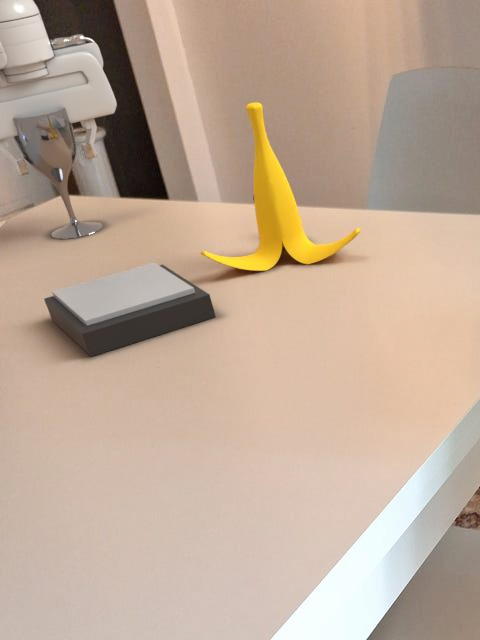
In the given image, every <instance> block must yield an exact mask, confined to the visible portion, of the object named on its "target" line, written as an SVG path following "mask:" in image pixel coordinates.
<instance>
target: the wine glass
mask: <svg viewBox="0 0 480 640" xmlns="http://www.w3.org/2000/svg"><path fill="white" fill-rule="evenodd" d="M13 121H14V123H15V126H16V129H17V132H18V136H15V137H11V140H12V142H13V143H14V145H15V147H16V149H17V150H18V152H19V153H20V155H21V158H22V159H23V160H24V161H25V163H26V164H27V165H29V166H30V167H31V168H32V169H34V170H35V171H36V172H37V173H39V174H41V175H42V176H43V177H45V178H46V179H47V180H48V181H50V183H51V184H52V185H53V186H54V187H55V188H56V190H57V192H58V193H59V196H60V197H61V200H62V201H63V205H64V206H65V208H66V211H67V215H68V217H69V222H68V224H66V225H64V226H61V227H58V228H57V229H55V230H53V231H52V232H51V234H50V236H51V238H54V239H57V240H69V239H78V238H81V237H82V238H83V237H86V236H89V235H92V234H95V233H96V232H99V231H100V230H102V229H103V227H104V225H103V224H102V223H101V222H98V221H80V220H78V219H77V216H76V214H75V212H74V208H73V205H72V203H71V198H70V194H69V189H68V183H69V181H68V180H69V176H70V173H71V170H72V167H73V165H74V162H75V160H76V156H77V143H76V137H75V131H74V126H73V123H70V120H69V118H68V115H67V112H66V109H65V108H64V109H62V110H59V111H56V112H53V113H49V114H44V115H39V116H33V117H26V118H13Z"/></svg>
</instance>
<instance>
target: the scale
mask: <svg viewBox="0 0 480 640" xmlns="http://www.w3.org/2000/svg"><path fill="white" fill-rule="evenodd" d="M51 293H52V295H51V296H48V297H45V298H43V300H44V303H45V305H46V307H47V310H48V313H49V315H50V318H51V321H53V323H54V324H56V325H57V326H58V327H59V328H60V329H61V330H62V332H64V333H65V334H66V335H67V336H69V337H70V339H72V341H74V342H75V343H76V344H77V346H79V347H80V348H81V349H82V350H83V351H84V352H85V353H86V354H87V355H88V356H89V357H91V358H93V357H94V356H98V355H102V354H105V353H109V352H110V351H114V350H118V349H119V348H124V347H127V346H130V345H133V344H135V343H138V342H142V341H145V340H148V339H152V338H155V337H157V336H161V335H164V334H167V333H170V332H173V331H176V330H180V329H183V328H185V327H189V326H191V325H195V324H198V323H201V322H204V321H207V320H210V319H214V318H216V312H215V309H214V306H213V302H212V299H211V294H210V293H208V292H207V291H205V290H203V289H202V288H200V287H199V286H198V285H196V284H194V283H192V282H191V281H190V280H187V279H186V278H185V277H184V276H181V275H180V274H178V273H177V272H175V271H174V270H172V269H170V268H169V267H167V266H166V265H164V264H157V263H156V262H149V263H147V264H143V265H140V266H137V267H133V268H129V269H126V270H122V271H119V272H115V273H112V274H108V275H104V276H101V277H98V278H95V279H90V280H88V281H84V282H81V283H76V284H73V285H70V286H66V287H63V288H59V289H56V290H52V291H51Z"/></svg>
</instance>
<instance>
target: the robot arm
mask: <svg viewBox="0 0 480 640" xmlns="http://www.w3.org/2000/svg"><path fill="white" fill-rule="evenodd" d="M117 106H118V103H117V99H116V97H115V94H114V91H113V88H112V86H111V84H110V82H109V79H108V77H107V75H106V73H105V72H104V59H103V55H102V53H101V49H100V47H99V45H98V44H97V42H96V41H94V39H92V38H91V37H87V36H84V34H83V33H82V34H78V33H77V34H74V35H71V36H65V37H64V36H63V37H57V38H51V39H49V36H48V33H47V30H46V27H45V23H44V21H43V18H42V15H41V13H40V9H39V7H38V5H37V4H36V3H35V1H34V0H0V154H1V155H2V156H3V157H4V158H6V160H8V161H9V162H10V165H11V167H12V169H13V172H14V174H15V176H17V177H22V176H27V175H29V174H30V171H29V169H28V168H27V162H26V161H25V159H24V158H23V157H19V158H16V157H15V156H14V155H12V154H11V153H10V152H9V151H8V150H7V149H9V148H10V144H9V142H8V139H9V138H10V139H11V138H12V137H15V136H18V132H17V129H16V126H15V123H14V121H13V118H26V117H33V116H39V115H44V114H49V113H53V112H56V111H59V110H62V109H64V108H65V109H66V112H67V115H68V118H69V120H70V123H72V124H75V123H79V122H80V124H81V127H82V128H84V129H86V132H85V139H84V142H82V143H79V147H80V149H81V150H82V155H83V157H84V159H86V160H91V159H95V158H98V156H99V154H98V152H97V150H96V146H95V142H96V135H97V131H98V126H97V123H96V120H95V119H97V118H101V117H105V116H110V115H113V114H115V112H116V109H117Z"/></svg>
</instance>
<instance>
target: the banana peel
mask: <svg viewBox="0 0 480 640" xmlns="http://www.w3.org/2000/svg"><path fill="white" fill-rule="evenodd" d="M263 109H264V107H263V104H262V103H260V102H250V103H247V105H245V110H246V112H247V115H248V118H249V120H250V124H251V128H252V132H253V138H254V161H253V162H254V164H253V196H252V199H253V203H254V211H255V212H254V213H255V219H256V225H257V231H258V237H259V243H258V247H257V249H256V250H255V252H254V253H252V254H248V255H243V256H223V255H218V254H214V253H211V252H209V251H206V250H202V251H200V255H201V256H204V257H206V259H210V260H212V261H214V262H217V263H219V264H221V265H224V266H227V267H230V268H236V269H239V270H244V271H255V272H265V271H268V270H270V269H272V268H273V267H274V266H275V265H276V264H277V263H278V261H279V259H280V257H281V255H282V251H283V248H284V249H285V250H286V252H287V253H288V254H289V255H290V257H291V258H293V259H294V260H295V261H297V262H298V263H301V264H304V265H311V264H314V263H317V262H320V261H323V260H325V259H327V258H329V257H331V256H333V255H335V254H336V253H337V252H339V251H340V250H341V249H343V248H344V247H345V246H347V245H348V244H349V243H350V242H352V241H353V240H354V239H355V238H356V237H357V236H358V235H359V234H360V232H362V229H361V228H355V229H354V230H353V231H352V232H351V233H349V234H348V235H346V236H345V237H343V238H341V239H339V240H337V241H334V242H330V243H326V244H315V243H314V242H312V241H311V240H310V239H309V238H308V236H307V235H306V233H305V231H304V228H303V223H302V219H301V215H300V212H299V208H298V204H297V201H296V199H295V196H294V193H293V190H292V188H291V186H290V183H289V181H288V179H287V176H286V174H285V172H284V169H283V167H282V166H281V163H280V162H279V160H278V158H277V156H276V154H275V153H274V152H275V151H274V150H273V148H272V147H271V143H270V141H269V138H268V135H267V132H266V131H267V130H266V127H265V121H264V111H263Z"/></svg>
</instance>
